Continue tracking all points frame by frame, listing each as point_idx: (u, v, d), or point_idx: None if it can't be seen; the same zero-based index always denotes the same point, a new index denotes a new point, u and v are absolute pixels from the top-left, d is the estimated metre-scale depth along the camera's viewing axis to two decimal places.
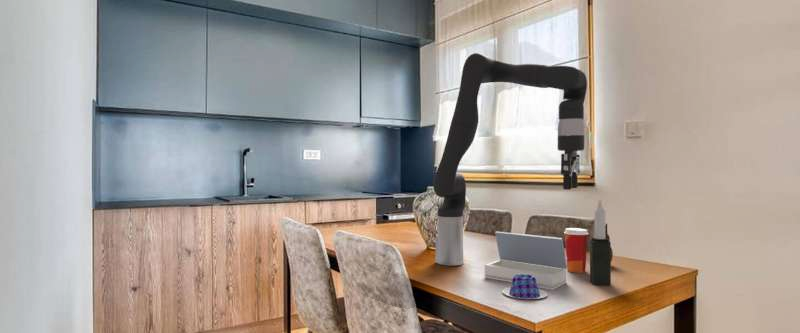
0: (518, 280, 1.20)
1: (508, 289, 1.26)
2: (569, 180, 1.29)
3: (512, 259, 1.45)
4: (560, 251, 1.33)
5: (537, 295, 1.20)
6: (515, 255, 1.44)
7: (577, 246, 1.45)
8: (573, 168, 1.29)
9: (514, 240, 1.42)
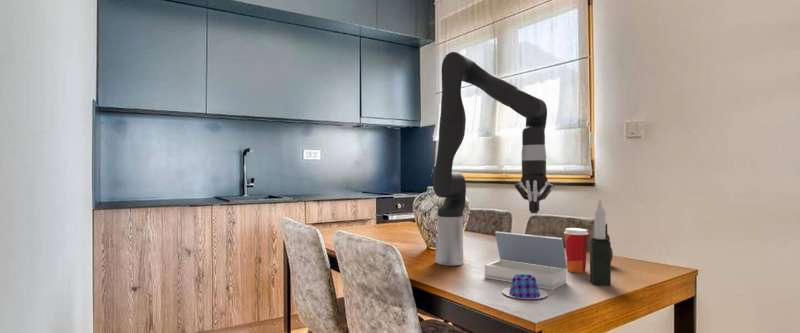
0: (518, 280, 1.20)
1: (508, 289, 1.26)
2: None
3: (512, 259, 1.45)
4: (560, 251, 1.33)
5: (537, 295, 1.20)
6: (515, 255, 1.44)
7: (577, 246, 1.45)
8: None
9: (514, 240, 1.42)
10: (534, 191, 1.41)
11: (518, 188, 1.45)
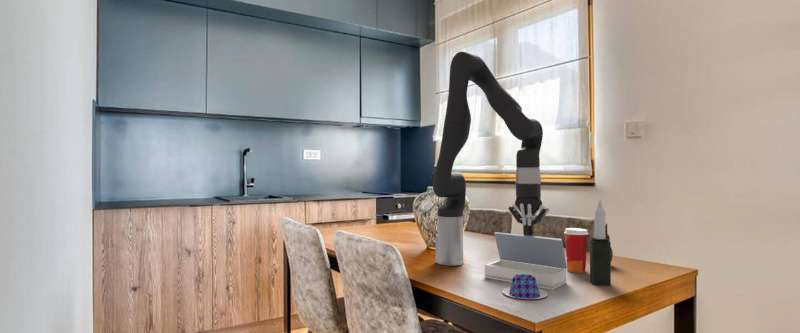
0: (518, 280, 1.20)
1: (508, 289, 1.27)
2: None
3: (512, 259, 1.45)
4: (559, 252, 1.33)
5: (537, 295, 1.20)
6: (515, 255, 1.44)
7: (577, 246, 1.45)
8: (534, 217, 1.40)
9: (513, 241, 1.42)
10: (528, 215, 1.38)
11: (512, 211, 1.42)
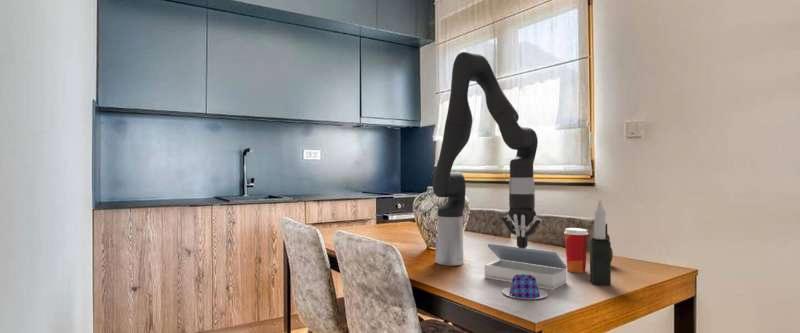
0: (517, 280, 1.21)
1: (509, 289, 1.27)
2: None
3: (512, 260, 1.45)
4: (556, 260, 1.31)
5: (536, 295, 1.20)
6: (513, 258, 1.43)
7: (577, 246, 1.45)
8: (528, 228, 1.36)
9: (508, 251, 1.39)
10: (522, 226, 1.34)
11: (505, 222, 1.38)
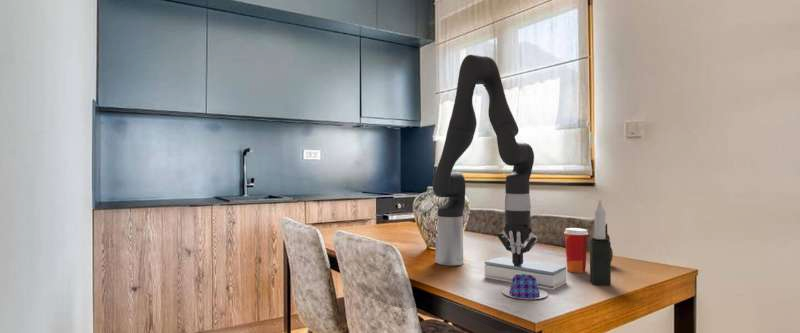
0: (517, 280, 1.21)
1: (509, 289, 1.27)
2: None
3: None
4: None
5: (536, 295, 1.19)
6: None
7: (577, 246, 1.45)
8: None
9: None
10: (517, 243, 1.32)
11: (501, 238, 1.37)
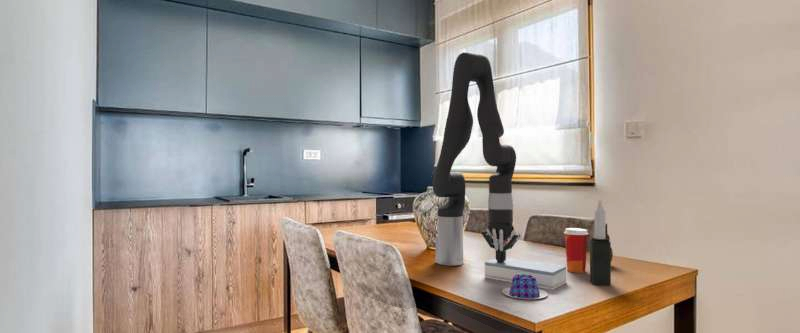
0: (517, 280, 1.21)
1: (510, 289, 1.27)
2: None
3: None
4: None
5: (536, 296, 1.19)
6: None
7: (577, 246, 1.45)
8: None
9: None
10: (500, 240, 1.38)
11: (485, 236, 1.42)
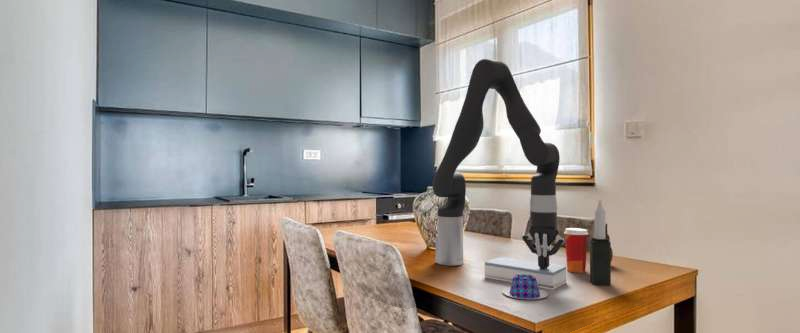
0: (516, 280, 1.21)
1: (511, 288, 1.27)
2: None
3: None
4: None
5: (535, 296, 1.19)
6: None
7: (577, 246, 1.45)
8: None
9: None
10: (544, 245, 1.29)
11: (526, 240, 1.33)
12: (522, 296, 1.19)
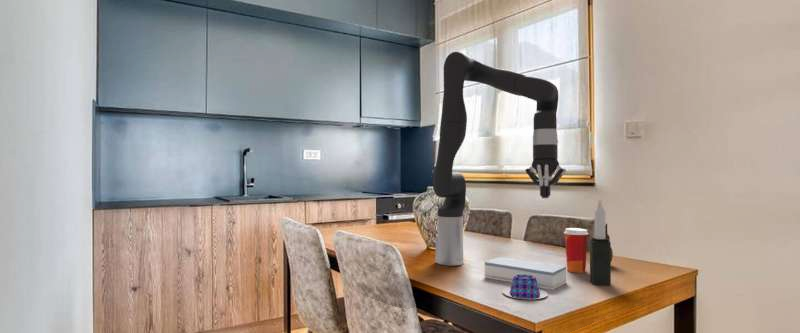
0: (516, 280, 1.21)
1: (511, 288, 1.27)
2: None
3: None
4: None
5: (535, 296, 1.19)
6: None
7: (577, 246, 1.45)
8: None
9: None
10: (545, 175, 1.40)
11: (529, 173, 1.44)
12: (521, 296, 1.19)
